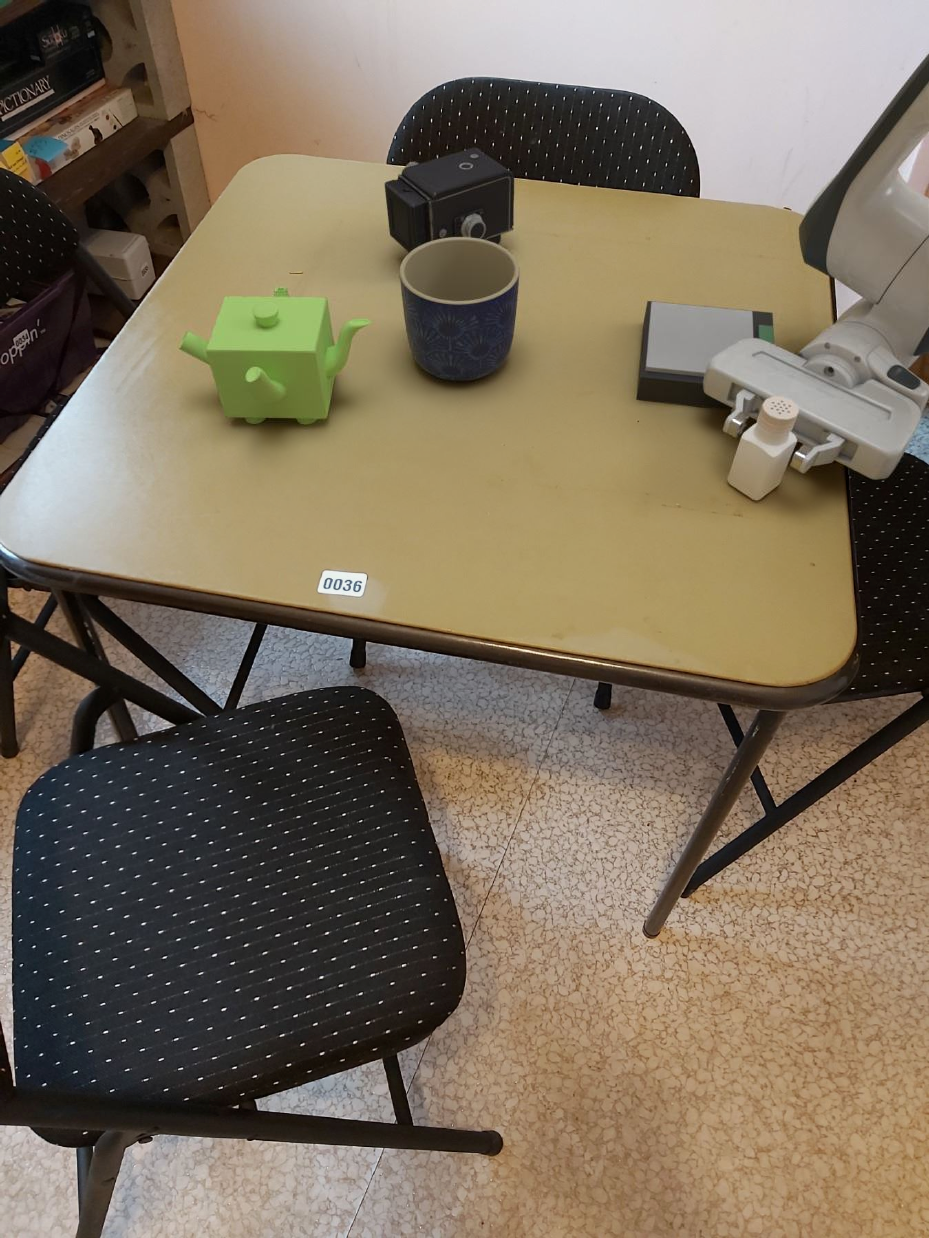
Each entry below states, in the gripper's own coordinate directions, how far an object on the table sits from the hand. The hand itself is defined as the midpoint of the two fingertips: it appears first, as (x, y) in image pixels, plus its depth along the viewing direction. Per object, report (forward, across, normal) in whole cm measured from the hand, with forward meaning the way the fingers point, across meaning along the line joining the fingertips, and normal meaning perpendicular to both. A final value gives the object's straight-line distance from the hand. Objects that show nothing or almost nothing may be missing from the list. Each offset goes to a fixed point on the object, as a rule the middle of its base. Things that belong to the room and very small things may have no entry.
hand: (763, 446), depth 78 cm
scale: (-13, -14, +6) cm, 20 cm away
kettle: (+22, -43, +6) cm, 49 cm away
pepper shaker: (-1, 0, +6) cm, 6 cm away
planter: (+4, -35, +6) cm, 36 cm away
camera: (-11, -51, +6) cm, 52 cm away
